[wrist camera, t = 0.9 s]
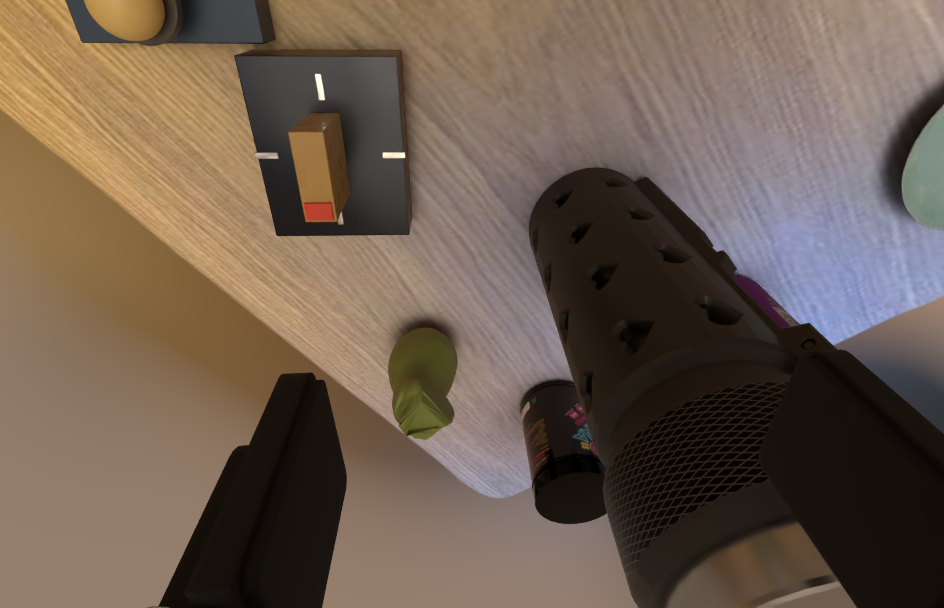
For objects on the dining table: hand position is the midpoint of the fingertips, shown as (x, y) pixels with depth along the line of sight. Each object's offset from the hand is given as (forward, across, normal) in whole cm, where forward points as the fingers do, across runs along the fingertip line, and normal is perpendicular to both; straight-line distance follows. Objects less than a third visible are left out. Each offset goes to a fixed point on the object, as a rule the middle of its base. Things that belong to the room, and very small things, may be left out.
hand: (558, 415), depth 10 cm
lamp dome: (+23, +17, -7) cm, 29 cm away
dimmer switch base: (+27, +9, +1) cm, 28 cm away
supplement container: (+27, -7, +26) cm, 38 cm away
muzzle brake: (+27, -8, +7) cm, 29 cm away
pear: (+27, +5, +18) cm, 33 cm away
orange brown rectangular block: (+24, +9, +1) cm, 25 cm away
